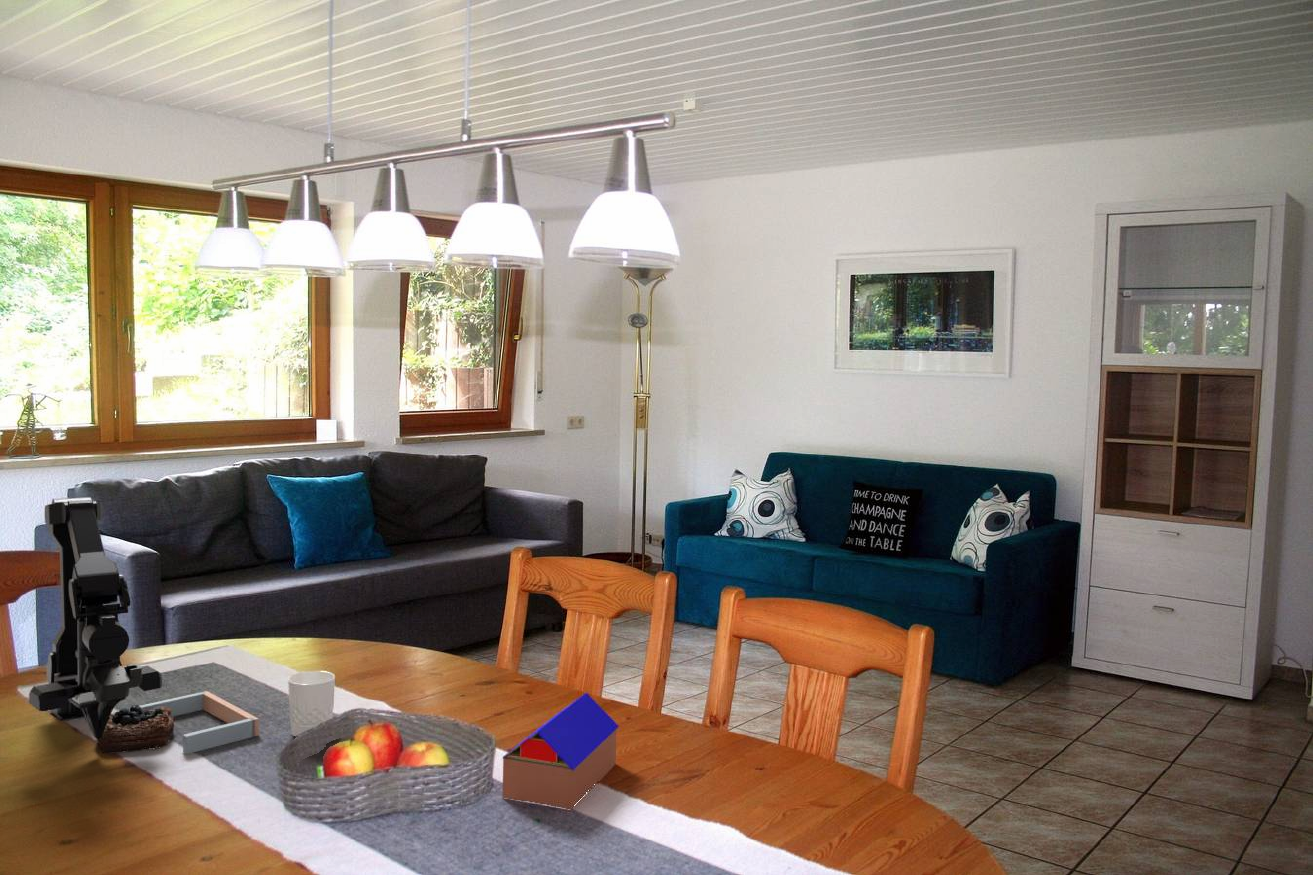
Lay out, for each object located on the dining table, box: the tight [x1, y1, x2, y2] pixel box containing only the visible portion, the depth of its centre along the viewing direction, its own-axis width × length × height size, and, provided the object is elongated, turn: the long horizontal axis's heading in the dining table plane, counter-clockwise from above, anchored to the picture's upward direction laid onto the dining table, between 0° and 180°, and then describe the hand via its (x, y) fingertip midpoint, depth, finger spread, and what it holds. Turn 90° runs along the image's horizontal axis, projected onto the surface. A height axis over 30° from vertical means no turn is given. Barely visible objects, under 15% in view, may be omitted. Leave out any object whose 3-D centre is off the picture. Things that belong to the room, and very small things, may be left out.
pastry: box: [96, 704, 175, 754], centre depth 177 cm, size 11×12×6 cm
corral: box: [138, 690, 260, 755], centre depth 183 cm, size 20×13×3 cm, turn 48°
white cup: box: [287, 670, 336, 737], centre depth 183 cm, size 8×8×10 cm
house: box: [502, 692, 620, 810], centre depth 165 cm, size 12×20×12 cm, turn 162°
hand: (97, 738), depth 171 cm, fingers closed
